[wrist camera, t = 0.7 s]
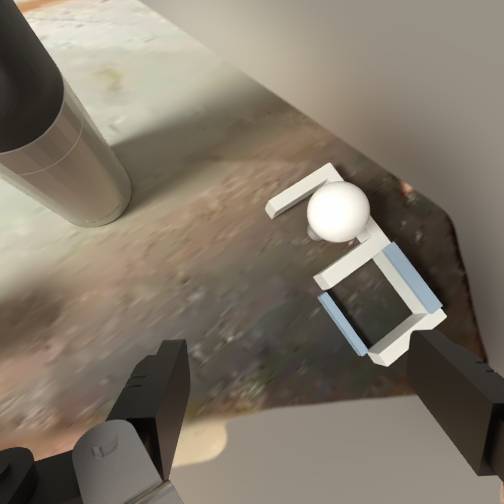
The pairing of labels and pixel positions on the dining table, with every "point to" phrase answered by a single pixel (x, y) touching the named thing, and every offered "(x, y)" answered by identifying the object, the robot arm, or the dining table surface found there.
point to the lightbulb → (337, 212)
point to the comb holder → (370, 246)
